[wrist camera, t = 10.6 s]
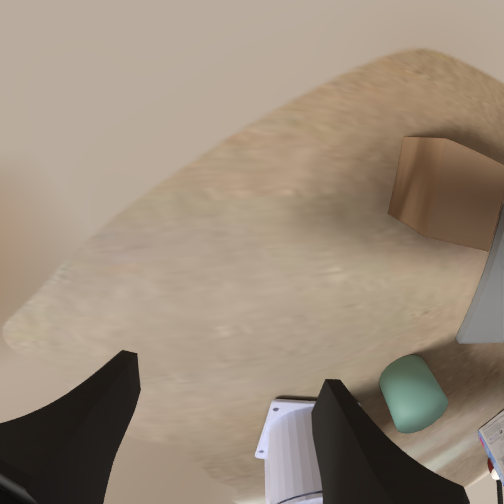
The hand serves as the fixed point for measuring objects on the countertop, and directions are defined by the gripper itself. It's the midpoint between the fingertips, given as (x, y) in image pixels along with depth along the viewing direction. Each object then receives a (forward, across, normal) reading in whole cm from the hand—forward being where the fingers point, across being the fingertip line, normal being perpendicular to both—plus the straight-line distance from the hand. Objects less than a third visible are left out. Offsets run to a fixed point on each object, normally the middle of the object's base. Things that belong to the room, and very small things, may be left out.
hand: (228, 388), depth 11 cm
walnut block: (+10, -11, -8) cm, 17 cm away
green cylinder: (+9, -15, +7) cm, 19 cm away
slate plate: (+9, -24, -3) cm, 26 cm away
